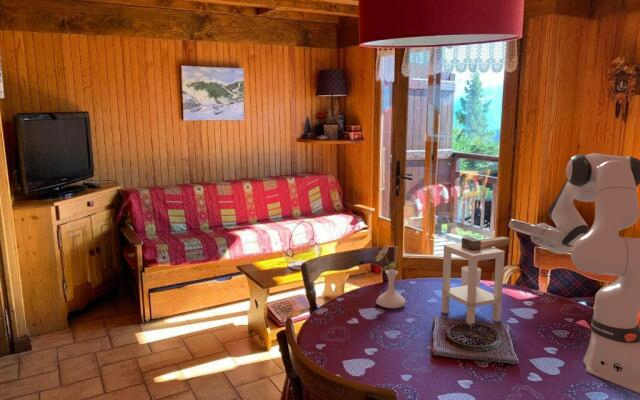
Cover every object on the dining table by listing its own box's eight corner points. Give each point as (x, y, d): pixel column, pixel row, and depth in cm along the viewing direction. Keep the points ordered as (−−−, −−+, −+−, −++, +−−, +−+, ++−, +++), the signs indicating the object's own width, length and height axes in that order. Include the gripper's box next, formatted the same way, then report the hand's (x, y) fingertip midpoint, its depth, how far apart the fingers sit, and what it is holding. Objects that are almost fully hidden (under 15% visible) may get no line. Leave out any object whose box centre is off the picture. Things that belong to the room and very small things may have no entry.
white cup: (482, 294, 206) (483, 271, 205) (463, 294, 206) (464, 271, 205) (476, 288, 214) (478, 265, 212) (458, 288, 214) (459, 265, 213)
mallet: (512, 245, 183) (512, 236, 183) (472, 250, 176) (473, 241, 175) (500, 241, 189) (500, 232, 188) (461, 247, 181) (461, 237, 181)
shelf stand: (500, 320, 180) (504, 251, 176) (469, 327, 174) (473, 255, 170) (470, 305, 194) (473, 241, 190) (441, 311, 189) (443, 245, 184)
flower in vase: (391, 298, 203) (393, 238, 198) (411, 306, 193) (413, 244, 189) (367, 305, 195) (367, 243, 191) (386, 314, 186) (387, 249, 182)
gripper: (524, 221, 204) (503, 210, 197) (568, 233, 186) (547, 222, 179) (518, 235, 204) (497, 225, 197) (562, 249, 186) (541, 238, 179)
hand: (521, 224), depth 188 cm, fingers open, 8 cm apart
